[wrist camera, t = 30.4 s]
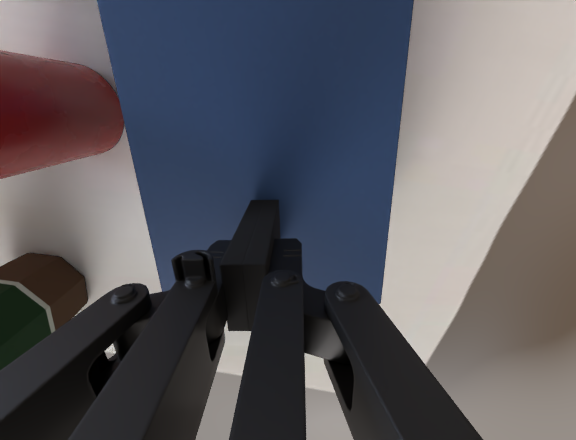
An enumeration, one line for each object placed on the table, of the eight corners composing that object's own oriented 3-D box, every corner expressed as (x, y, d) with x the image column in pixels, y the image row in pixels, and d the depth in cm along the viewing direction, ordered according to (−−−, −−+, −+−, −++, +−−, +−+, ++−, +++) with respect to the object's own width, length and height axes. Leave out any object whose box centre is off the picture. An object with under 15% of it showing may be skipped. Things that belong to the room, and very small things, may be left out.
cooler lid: (377, 296, 18) (380, 304, 17) (170, 297, 19) (164, 304, 18) (431, -227, 10) (441, -253, 9) (64, -198, 11) (46, -221, 10)
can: (24, 64, 21) (-287, 21, 10) (111, 61, 21) (-107, 12, 9) (55, 155, 23) (-165, 202, 12) (133, 153, 23) (-20, 199, 12)
